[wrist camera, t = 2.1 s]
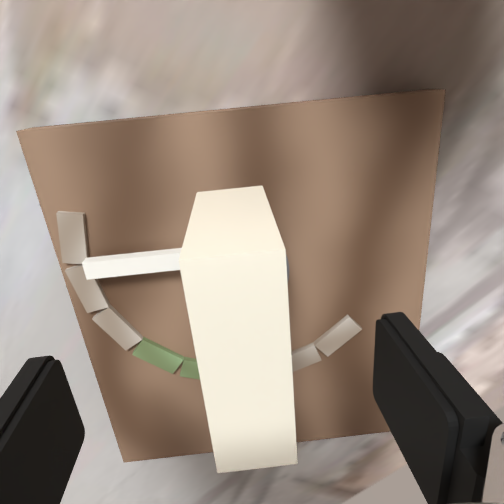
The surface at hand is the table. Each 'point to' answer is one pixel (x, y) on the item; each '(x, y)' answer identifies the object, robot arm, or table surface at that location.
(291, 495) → the table surface
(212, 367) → the pointer knob
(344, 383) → the tuner board
